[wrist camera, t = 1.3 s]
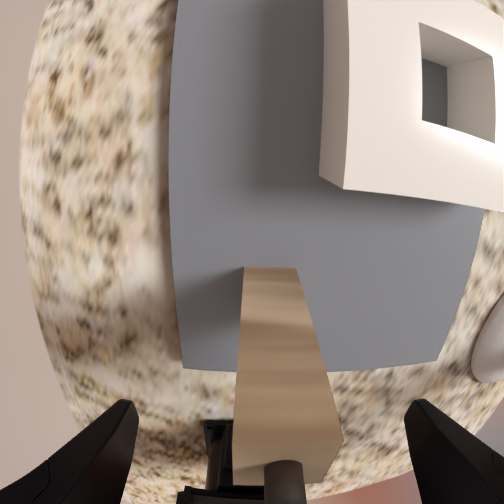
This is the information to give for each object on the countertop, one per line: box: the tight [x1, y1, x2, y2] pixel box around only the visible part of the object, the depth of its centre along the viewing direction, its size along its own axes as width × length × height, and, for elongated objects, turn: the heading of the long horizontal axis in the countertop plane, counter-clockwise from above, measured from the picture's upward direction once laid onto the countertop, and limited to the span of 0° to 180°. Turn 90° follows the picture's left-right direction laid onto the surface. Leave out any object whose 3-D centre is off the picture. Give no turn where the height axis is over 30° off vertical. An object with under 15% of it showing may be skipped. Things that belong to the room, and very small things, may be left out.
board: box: [168, 0, 484, 372], centre depth 14 cm, size 24×18×1 cm
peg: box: [232, 266, 344, 504], centre depth 10 cm, size 3×3×11 cm
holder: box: [319, 0, 504, 212], centre depth 10 cm, size 10×10×4 cm
